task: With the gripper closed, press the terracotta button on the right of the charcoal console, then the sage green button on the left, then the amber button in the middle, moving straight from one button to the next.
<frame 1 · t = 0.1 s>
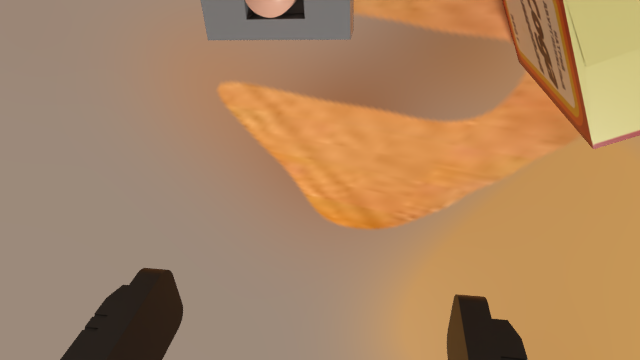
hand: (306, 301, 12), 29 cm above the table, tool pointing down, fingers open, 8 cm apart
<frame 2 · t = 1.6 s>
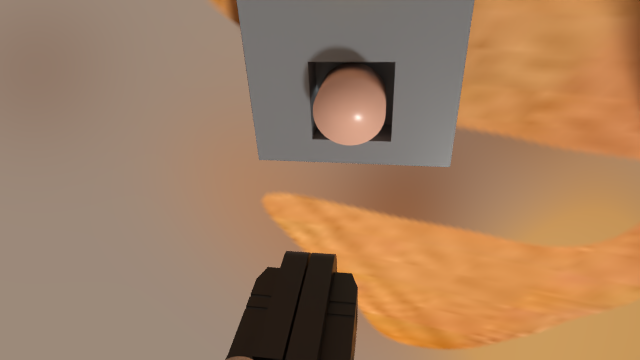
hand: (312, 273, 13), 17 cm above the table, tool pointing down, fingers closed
terracotta button: (350, 104, 24), point 3 cm above the table, slide at 0.0 cm
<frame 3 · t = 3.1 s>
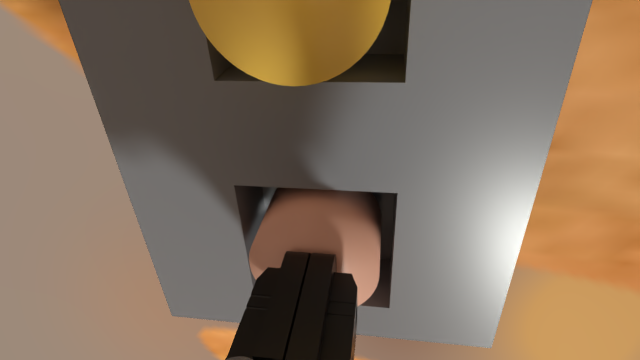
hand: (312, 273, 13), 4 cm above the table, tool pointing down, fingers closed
terracotta button: (319, 241, 14), point 3 cm above the table, slide at 0.6 cm, touching gripper
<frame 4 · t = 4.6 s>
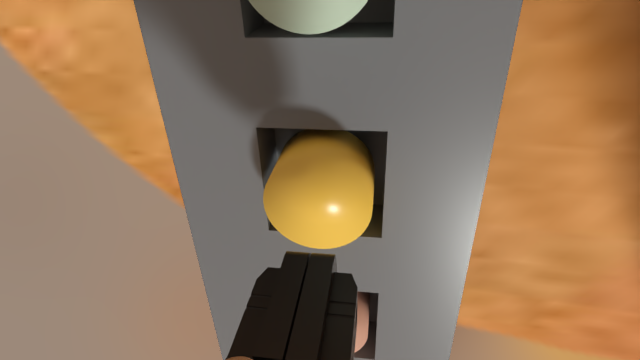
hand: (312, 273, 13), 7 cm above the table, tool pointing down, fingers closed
button console: (331, 150, 19), on the table
amber button: (322, 187, 16), point 3 cm above the table, slide at 0.0 cm
terracotta button: (329, 309, 21), point 2 cm above the table, slide at 1.0 cm
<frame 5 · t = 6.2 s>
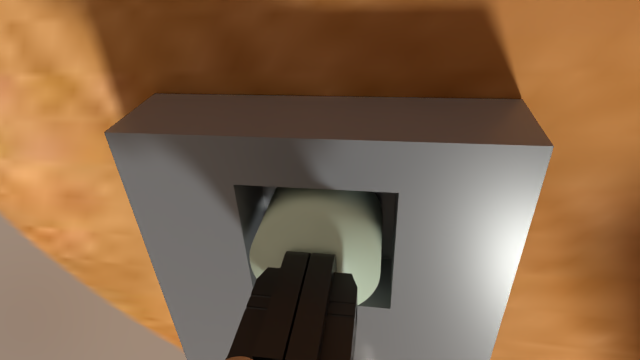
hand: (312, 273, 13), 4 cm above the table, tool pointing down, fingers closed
sage button: (320, 239, 14), point 2 cm above the table, slide at 0.7 cm, touching gripper
button console: (335, 332, 20), on the table
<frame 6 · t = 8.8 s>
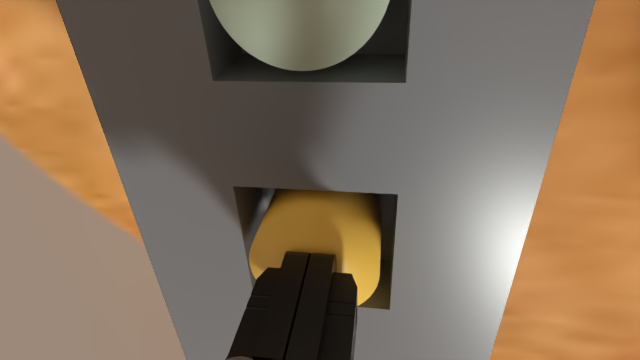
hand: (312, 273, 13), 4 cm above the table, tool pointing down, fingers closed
button console: (329, 197, 16), on the table
amber button: (319, 240, 14), point 2 cm above the table, slide at 0.7 cm, touching gripper
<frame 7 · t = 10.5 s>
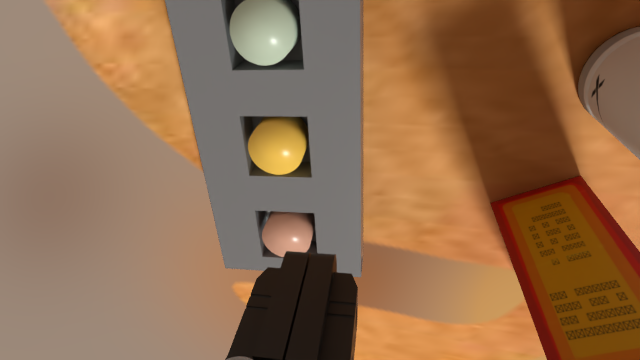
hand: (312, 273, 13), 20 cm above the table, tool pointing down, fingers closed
sage button: (266, 28, 26), point 2 cm above the table, slide at 1.0 cm
baking soda box: (547, 234, 34), on the table
button console: (285, 130, 32), on the table
amber button: (279, 142, 30), point 2 cm above the table, slide at 1.0 cm
travel mug: (626, 76, 27), on the table
terracotta button: (289, 229, 34), point 2 cm above the table, slide at 1.0 cm
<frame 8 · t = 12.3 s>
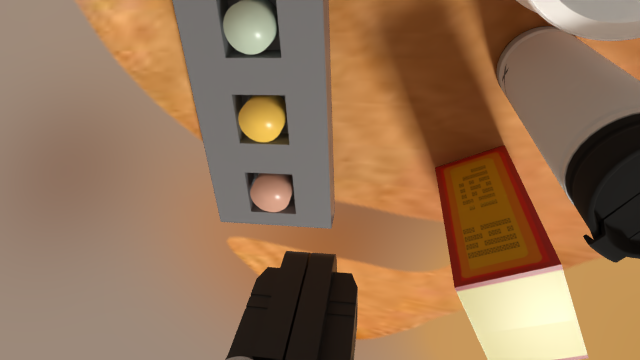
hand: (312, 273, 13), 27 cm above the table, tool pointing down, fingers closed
sage button: (252, 25, 34), point 2 cm above the table, slide at 1.0 cm
baking soda box: (482, 194, 41), on the table
button console: (269, 107, 40), on the table
amber button: (263, 116, 38), point 2 cm above the table, slide at 1.0 cm
travel mug: (534, 66, 34), on the table
terracotta button: (273, 188, 42), point 2 cm above the table, slide at 1.0 cm
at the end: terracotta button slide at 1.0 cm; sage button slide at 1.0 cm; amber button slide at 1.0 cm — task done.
